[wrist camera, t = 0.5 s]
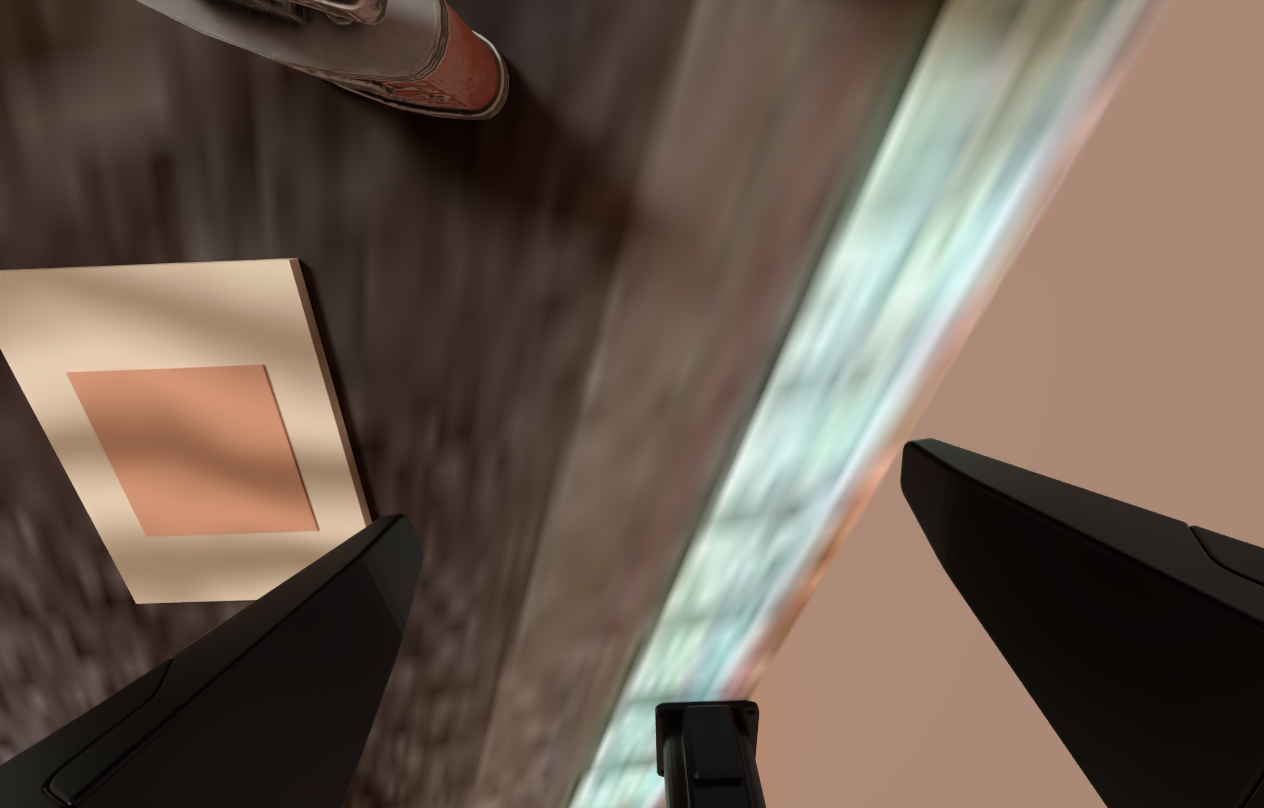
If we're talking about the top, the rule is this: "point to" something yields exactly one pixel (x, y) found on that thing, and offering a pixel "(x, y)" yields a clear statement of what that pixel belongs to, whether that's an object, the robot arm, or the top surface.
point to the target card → (189, 418)
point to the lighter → (365, 48)
